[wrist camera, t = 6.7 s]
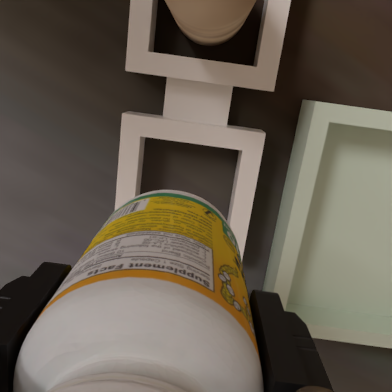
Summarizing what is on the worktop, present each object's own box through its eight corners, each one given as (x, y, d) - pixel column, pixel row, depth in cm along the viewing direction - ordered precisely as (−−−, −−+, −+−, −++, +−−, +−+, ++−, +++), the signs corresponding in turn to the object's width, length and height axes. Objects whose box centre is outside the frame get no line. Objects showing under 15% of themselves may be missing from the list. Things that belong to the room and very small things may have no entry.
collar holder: (145, -90, 21) (138, -108, 19) (297, -68, 21) (306, -83, 19) (109, 361, 29) (102, 380, 28) (216, 375, 30) (216, 395, 28)
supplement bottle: (110, 174, 14) (-96, 368, 4) (253, 201, 14) (348, 445, 4) (94, 300, 15) (-81, 638, 6) (223, 323, 15) (247, 688, 6)
